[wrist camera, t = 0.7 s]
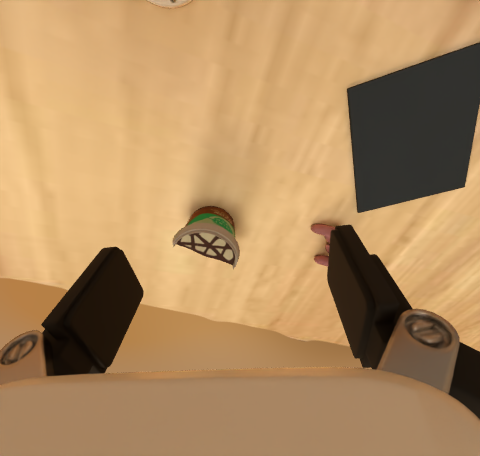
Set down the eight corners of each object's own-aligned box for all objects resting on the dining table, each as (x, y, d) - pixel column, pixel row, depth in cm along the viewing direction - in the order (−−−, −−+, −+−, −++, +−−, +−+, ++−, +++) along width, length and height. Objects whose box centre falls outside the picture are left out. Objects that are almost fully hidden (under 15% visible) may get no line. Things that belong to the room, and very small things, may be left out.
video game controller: (328, 252, 55) (352, 269, 50) (312, 261, 54) (334, 279, 49) (326, 215, 50) (353, 230, 44) (308, 224, 49) (333, 240, 43)
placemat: (347, 88, 36) (348, 89, 36) (487, 39, 33) (491, 39, 32) (357, 211, 48) (358, 213, 47) (462, 185, 44) (464, 187, 43)
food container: (251, 215, 49) (251, 246, 41) (238, 237, 52) (236, 270, 44) (193, 190, 47) (180, 218, 38) (183, 215, 50) (170, 246, 41)
